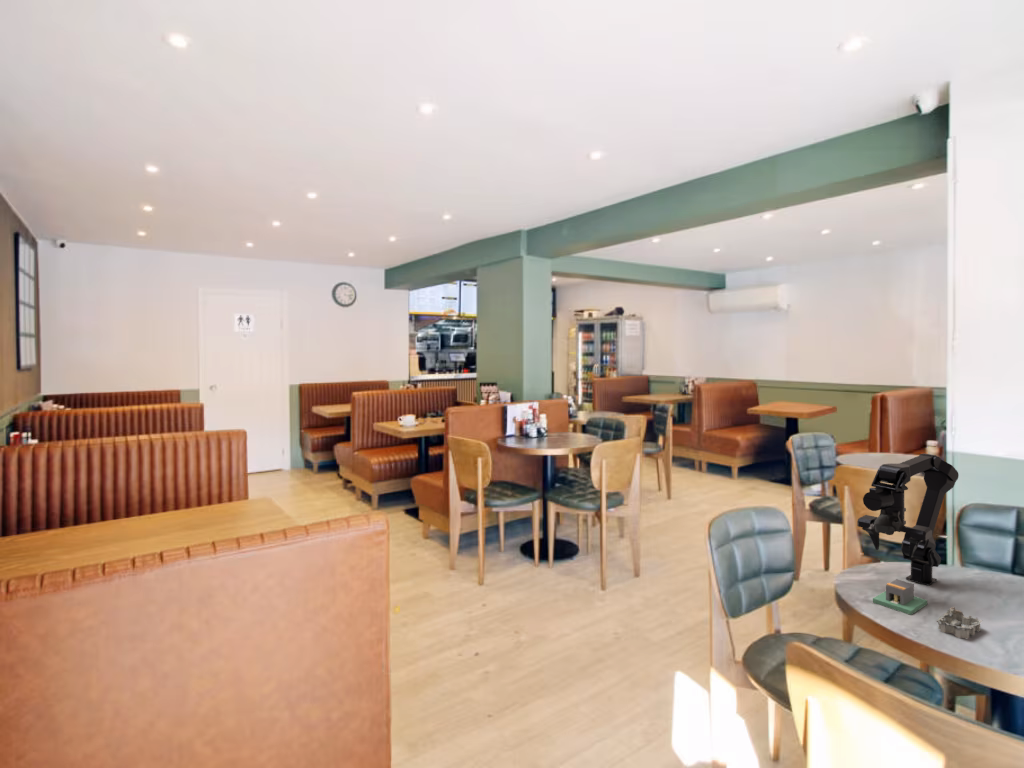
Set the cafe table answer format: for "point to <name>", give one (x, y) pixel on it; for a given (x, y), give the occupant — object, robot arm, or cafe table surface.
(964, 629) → the egg carton
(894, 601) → the board
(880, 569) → the cafe table surface
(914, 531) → the robot arm
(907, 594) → the plug housing
